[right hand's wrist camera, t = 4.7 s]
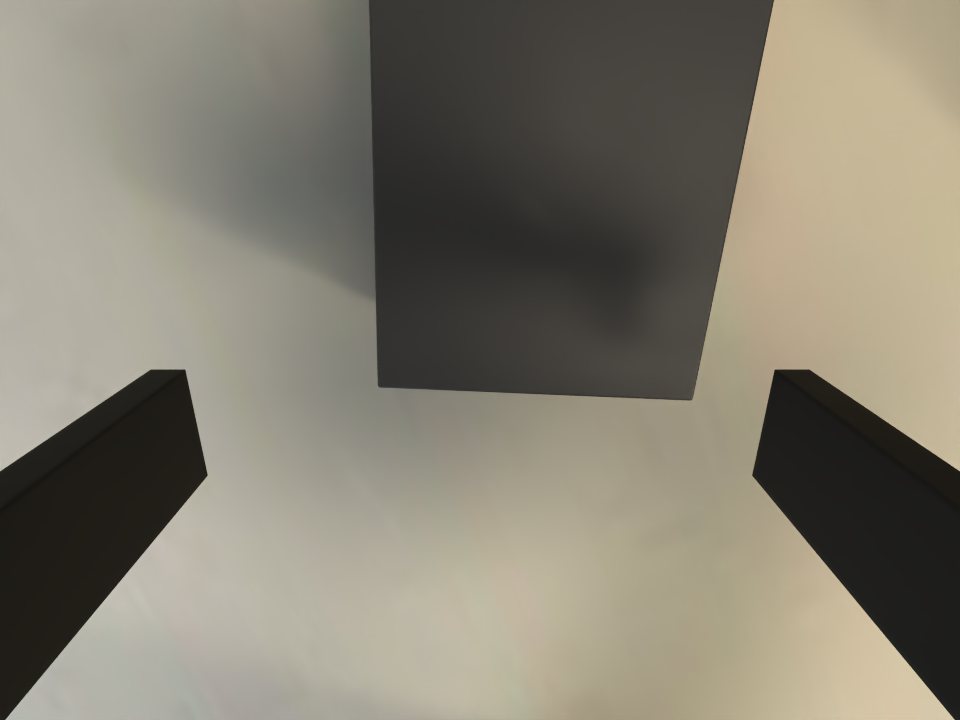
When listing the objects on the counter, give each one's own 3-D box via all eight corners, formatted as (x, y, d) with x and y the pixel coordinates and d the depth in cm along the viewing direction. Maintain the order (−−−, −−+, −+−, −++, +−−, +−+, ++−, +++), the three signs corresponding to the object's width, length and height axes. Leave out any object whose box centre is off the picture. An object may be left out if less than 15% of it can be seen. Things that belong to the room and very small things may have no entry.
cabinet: (407, -198, 20) (358, -436, 12) (706, -181, 20) (857, -402, 12) (407, 317, 26) (377, 388, 18) (629, 327, 27) (693, 401, 19)
